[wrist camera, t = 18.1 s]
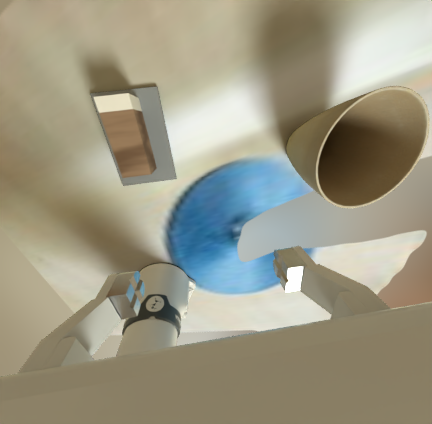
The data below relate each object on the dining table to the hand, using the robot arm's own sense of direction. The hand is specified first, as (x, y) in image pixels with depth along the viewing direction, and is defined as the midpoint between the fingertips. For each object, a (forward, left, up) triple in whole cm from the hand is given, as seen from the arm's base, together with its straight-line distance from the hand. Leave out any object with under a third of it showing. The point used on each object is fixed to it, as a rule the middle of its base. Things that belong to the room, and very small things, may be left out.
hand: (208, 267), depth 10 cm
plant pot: (+8, -21, -29) cm, 37 cm away
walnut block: (-2, +11, -26) cm, 28 cm away
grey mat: (+3, +12, -29) cm, 32 cm away
